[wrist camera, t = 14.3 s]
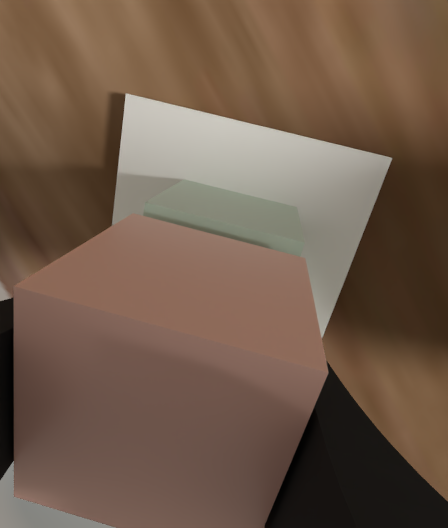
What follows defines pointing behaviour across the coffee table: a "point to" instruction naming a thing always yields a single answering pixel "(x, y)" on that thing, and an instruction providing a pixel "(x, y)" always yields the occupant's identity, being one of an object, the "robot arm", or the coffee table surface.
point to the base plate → (255, 179)
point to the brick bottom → (229, 215)
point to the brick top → (163, 377)
